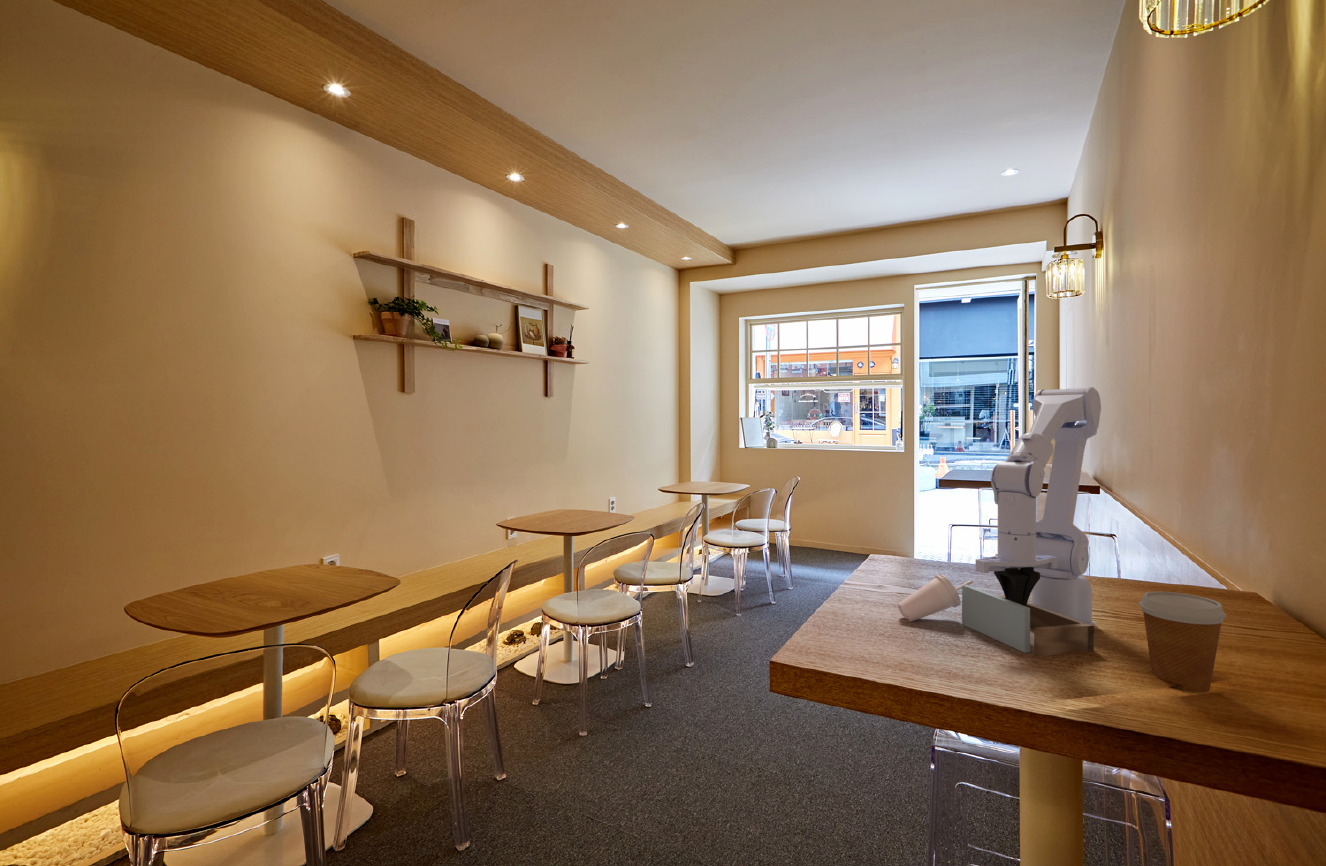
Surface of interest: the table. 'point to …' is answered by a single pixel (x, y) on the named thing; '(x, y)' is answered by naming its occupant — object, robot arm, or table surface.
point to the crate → (1057, 632)
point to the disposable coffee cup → (1182, 638)
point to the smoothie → (931, 599)
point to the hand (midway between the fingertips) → (1016, 612)
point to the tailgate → (996, 617)
